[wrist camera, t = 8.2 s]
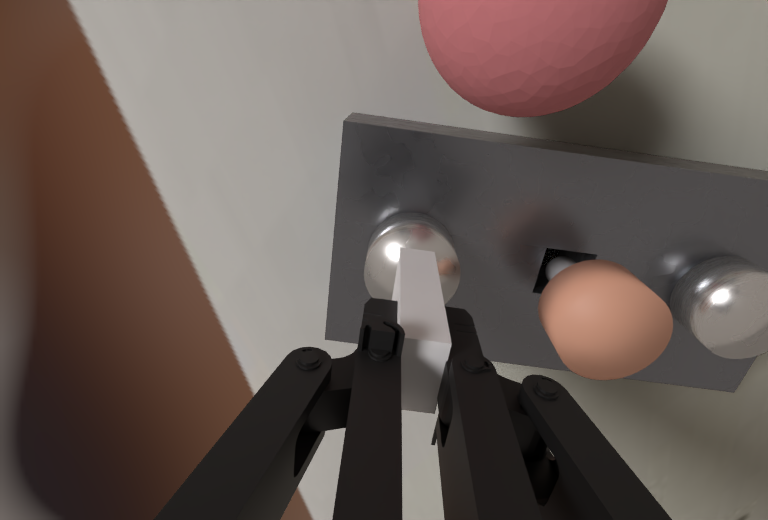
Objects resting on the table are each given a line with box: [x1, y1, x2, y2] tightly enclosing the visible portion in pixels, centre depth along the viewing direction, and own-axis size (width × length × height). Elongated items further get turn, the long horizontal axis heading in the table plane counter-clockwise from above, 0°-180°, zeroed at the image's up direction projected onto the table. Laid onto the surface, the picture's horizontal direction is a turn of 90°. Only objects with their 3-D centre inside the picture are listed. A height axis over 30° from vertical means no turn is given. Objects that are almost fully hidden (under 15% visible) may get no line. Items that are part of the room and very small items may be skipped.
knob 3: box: [670, 256, 768, 359], centre depth 22 cm, size 4×4×6 cm
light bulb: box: [418, 0, 668, 117], centre depth 15 cm, size 7×7×12 cm
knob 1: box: [364, 212, 460, 305], centre depth 22 cm, size 4×4×6 cm
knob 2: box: [538, 256, 673, 380], centre depth 19 cm, size 4×4×6 cm
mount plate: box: [325, 113, 768, 392], centre depth 23 cm, size 12×24×4 cm, turn 83°
